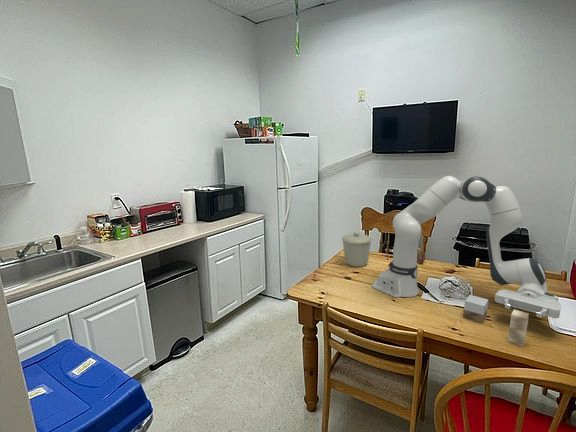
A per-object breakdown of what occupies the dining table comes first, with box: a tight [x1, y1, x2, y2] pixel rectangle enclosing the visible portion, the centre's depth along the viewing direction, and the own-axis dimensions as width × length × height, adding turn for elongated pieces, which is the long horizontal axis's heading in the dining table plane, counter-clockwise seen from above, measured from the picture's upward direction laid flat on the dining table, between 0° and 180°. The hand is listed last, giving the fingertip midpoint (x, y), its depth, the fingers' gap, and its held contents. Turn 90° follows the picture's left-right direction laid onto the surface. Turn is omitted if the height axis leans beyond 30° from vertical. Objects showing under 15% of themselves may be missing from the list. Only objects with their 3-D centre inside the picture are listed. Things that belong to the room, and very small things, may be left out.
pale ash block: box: [507, 309, 530, 347], centre depth 114 cm, size 4×4×11 cm
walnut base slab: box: [462, 309, 488, 324], centre depth 132 cm, size 7×7×4 cm
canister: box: [341, 230, 373, 268], centre depth 193 cm, size 18×18×21 cm
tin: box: [417, 247, 426, 264], centre depth 195 cm, size 15×3×8 cm, turn 5°
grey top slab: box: [463, 294, 489, 315], centre depth 131 cm, size 7×7×4 cm
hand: (522, 310), depth 116 cm, fingers open, 8 cm apart
